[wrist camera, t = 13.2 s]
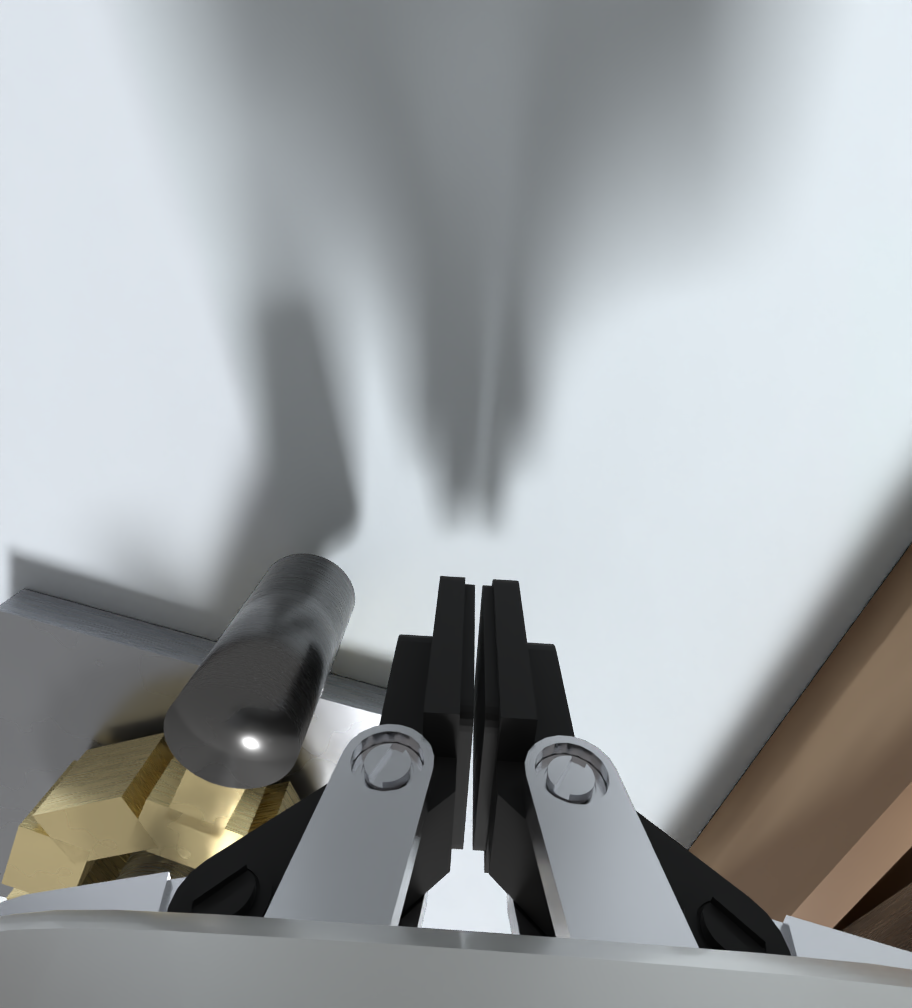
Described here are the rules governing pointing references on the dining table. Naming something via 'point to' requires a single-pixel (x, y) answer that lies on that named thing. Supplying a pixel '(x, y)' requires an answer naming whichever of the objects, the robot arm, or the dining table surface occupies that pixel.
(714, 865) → the tray
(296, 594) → the ring nut
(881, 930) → the silver dumbbell
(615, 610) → the dining table surface
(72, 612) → the nut base
